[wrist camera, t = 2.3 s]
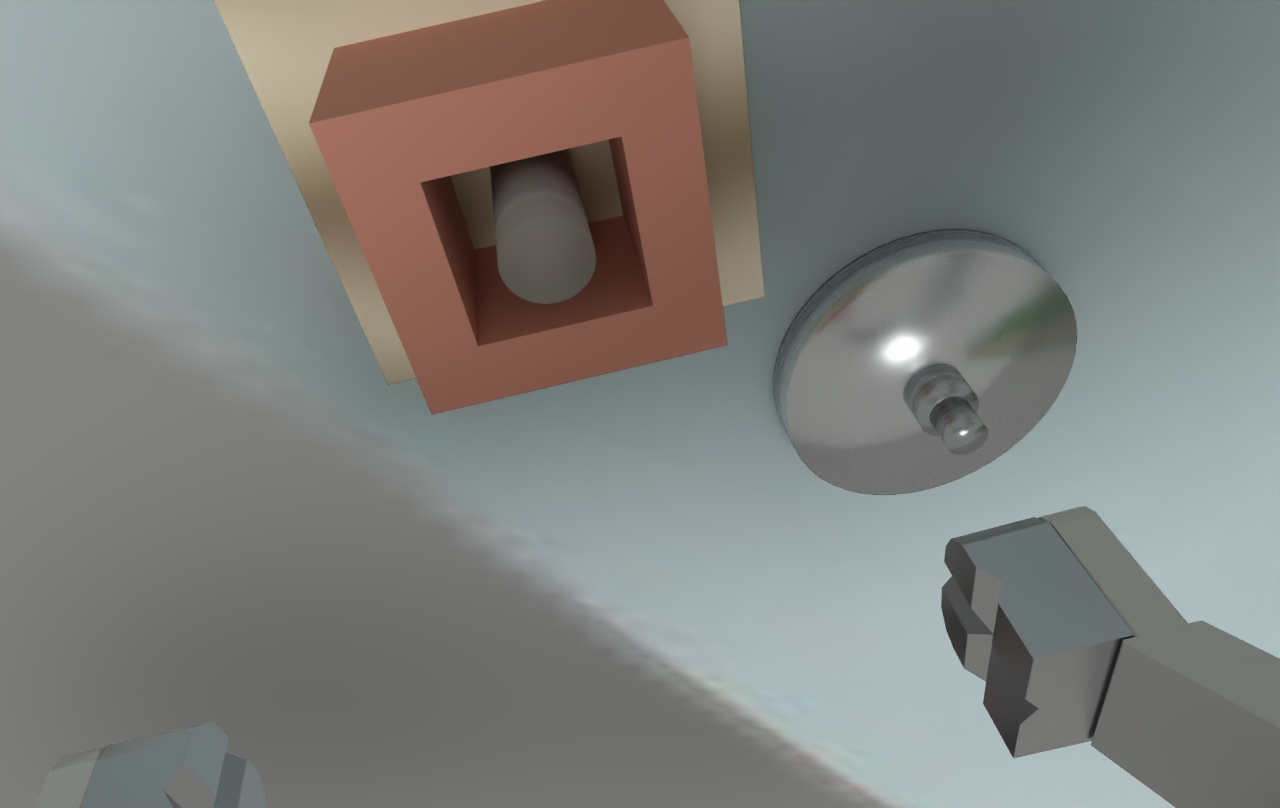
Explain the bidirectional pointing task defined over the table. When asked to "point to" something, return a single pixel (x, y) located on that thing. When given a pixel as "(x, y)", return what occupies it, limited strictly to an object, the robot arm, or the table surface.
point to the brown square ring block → (513, 130)
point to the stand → (510, 192)
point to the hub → (923, 362)
